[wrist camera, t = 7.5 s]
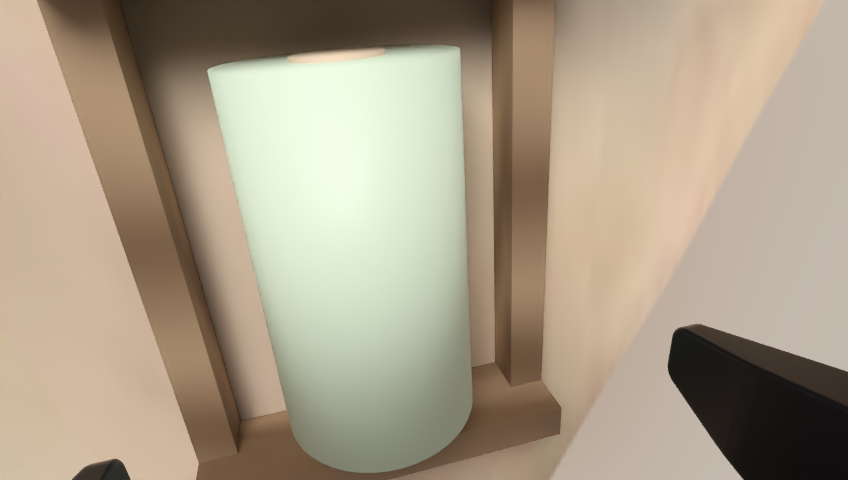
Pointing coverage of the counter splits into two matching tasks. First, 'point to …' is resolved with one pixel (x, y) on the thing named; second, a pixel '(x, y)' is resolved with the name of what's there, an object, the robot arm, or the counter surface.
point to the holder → (180, 285)
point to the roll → (357, 242)
